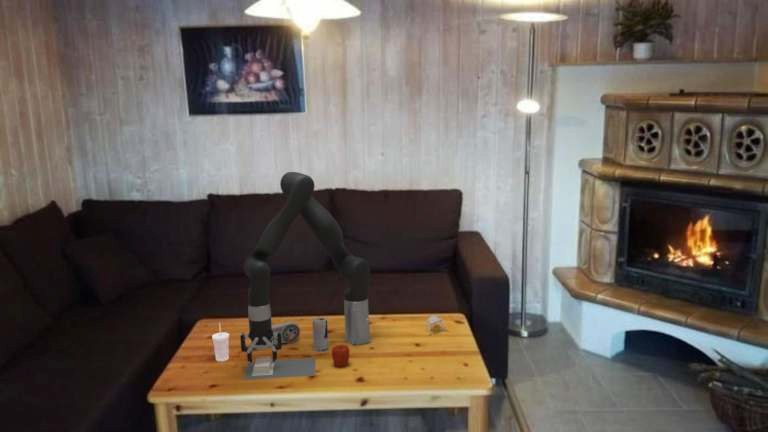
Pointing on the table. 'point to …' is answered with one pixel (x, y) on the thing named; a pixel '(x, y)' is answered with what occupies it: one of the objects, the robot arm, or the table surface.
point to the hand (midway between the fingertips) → (262, 361)
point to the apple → (340, 355)
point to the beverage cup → (221, 345)
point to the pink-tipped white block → (262, 365)
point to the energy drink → (320, 334)
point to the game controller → (283, 334)
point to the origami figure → (434, 320)
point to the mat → (284, 369)
